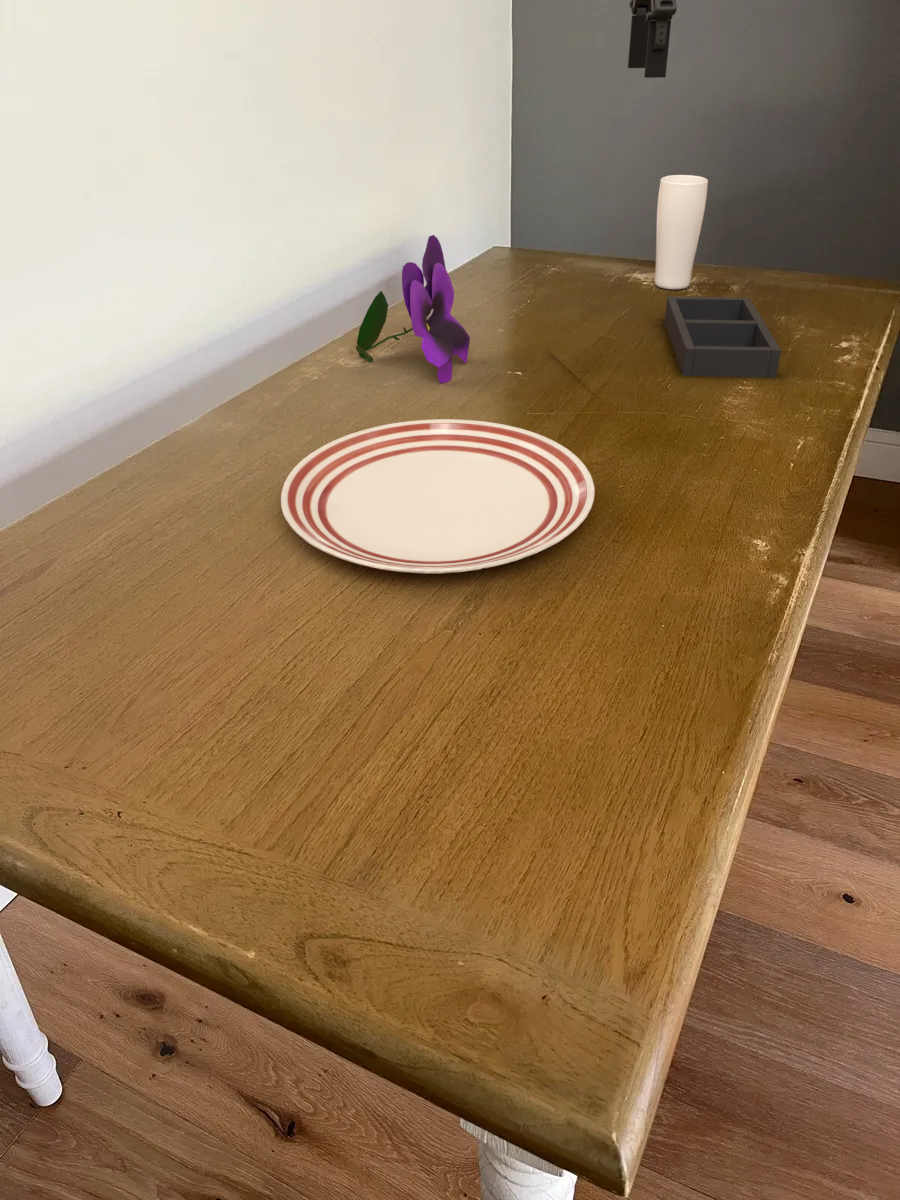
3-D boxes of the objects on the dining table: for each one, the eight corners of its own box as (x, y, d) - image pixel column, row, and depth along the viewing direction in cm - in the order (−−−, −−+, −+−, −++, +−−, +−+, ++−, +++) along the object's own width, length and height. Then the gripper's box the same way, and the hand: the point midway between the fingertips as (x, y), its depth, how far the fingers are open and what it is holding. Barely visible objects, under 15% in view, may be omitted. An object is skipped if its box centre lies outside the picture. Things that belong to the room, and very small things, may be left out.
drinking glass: (644, 289, 143) (655, 181, 134) (654, 277, 148) (665, 173, 140) (690, 294, 141) (704, 185, 132) (698, 282, 146) (712, 176, 137)
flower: (362, 425, 115) (456, 385, 108) (299, 309, 109) (393, 260, 102) (406, 382, 126) (493, 344, 119) (350, 275, 121) (438, 229, 114)
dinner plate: (544, 626, 71) (546, 589, 69) (224, 563, 79) (218, 528, 77) (621, 471, 92) (624, 439, 91) (363, 433, 100) (361, 403, 99)
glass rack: (743, 332, 126) (749, 297, 124) (773, 389, 110) (781, 350, 107) (663, 331, 127) (667, 296, 124) (681, 387, 110) (686, 348, 108)
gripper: (617, -112, 132) (606, 64, 144) (651, -125, 111) (633, 82, 123) (672, -112, 132) (655, 63, 144) (715, -126, 111) (692, 81, 123)
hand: (645, 72), depth 133 cm, fingers open, 13 cm apart
